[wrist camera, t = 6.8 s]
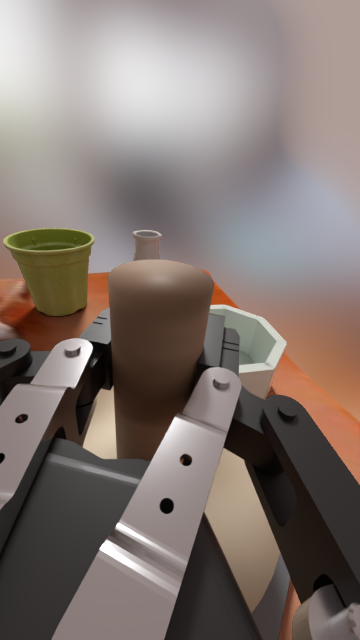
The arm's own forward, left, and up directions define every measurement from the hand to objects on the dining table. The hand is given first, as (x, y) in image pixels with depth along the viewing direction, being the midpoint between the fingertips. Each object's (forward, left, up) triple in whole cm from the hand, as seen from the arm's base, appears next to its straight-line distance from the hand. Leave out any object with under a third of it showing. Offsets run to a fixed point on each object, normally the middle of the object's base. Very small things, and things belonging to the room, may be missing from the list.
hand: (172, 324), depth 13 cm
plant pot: (-23, +10, -12) cm, 27 cm away
